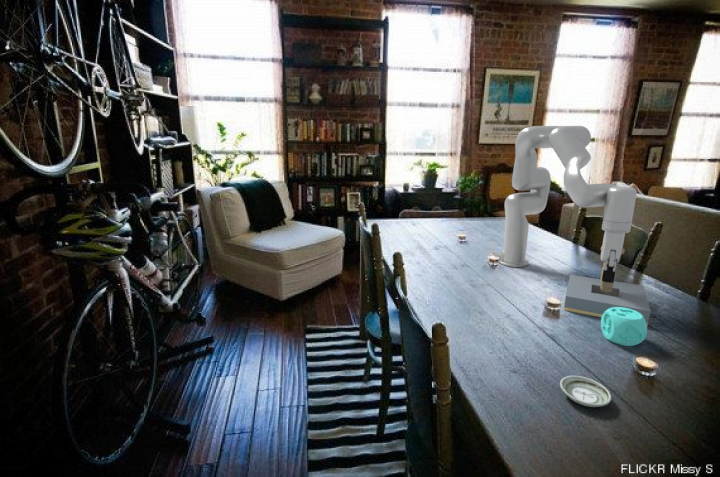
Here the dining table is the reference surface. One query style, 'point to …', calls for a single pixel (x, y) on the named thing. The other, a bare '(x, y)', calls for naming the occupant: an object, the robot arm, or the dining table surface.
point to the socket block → (604, 297)
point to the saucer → (585, 391)
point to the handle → (608, 286)
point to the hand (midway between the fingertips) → (607, 279)
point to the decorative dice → (623, 326)
